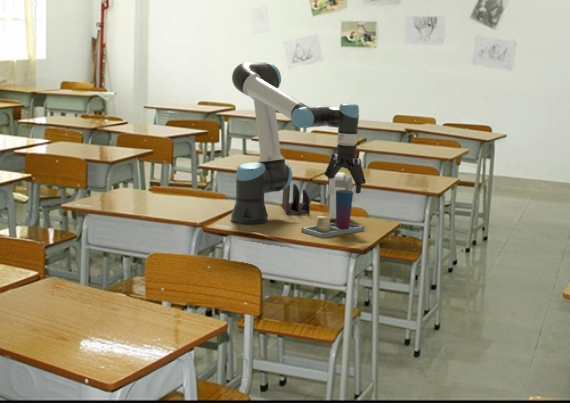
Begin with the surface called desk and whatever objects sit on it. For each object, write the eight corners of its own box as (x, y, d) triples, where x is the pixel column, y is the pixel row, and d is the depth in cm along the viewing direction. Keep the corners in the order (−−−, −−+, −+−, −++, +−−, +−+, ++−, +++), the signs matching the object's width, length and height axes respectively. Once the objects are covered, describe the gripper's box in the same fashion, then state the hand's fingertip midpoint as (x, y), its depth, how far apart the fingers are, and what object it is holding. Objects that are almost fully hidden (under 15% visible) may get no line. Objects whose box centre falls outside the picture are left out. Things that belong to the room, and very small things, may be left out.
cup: (332, 229, 312) (334, 192, 309) (335, 226, 319) (337, 189, 316) (350, 231, 311) (352, 193, 308) (352, 227, 318) (354, 190, 315)
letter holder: (286, 215, 343) (287, 182, 341) (281, 206, 363) (282, 175, 360) (309, 215, 344) (310, 183, 342) (303, 206, 364) (304, 175, 361)
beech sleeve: (313, 232, 308) (314, 217, 307) (323, 230, 311) (323, 215, 310) (322, 234, 304) (323, 219, 303) (332, 233, 308) (332, 218, 307)
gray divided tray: (301, 234, 309) (301, 227, 308) (342, 227, 323) (343, 221, 323) (322, 240, 300) (322, 233, 300) (363, 232, 315) (363, 226, 314)
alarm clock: (332, 215, 345) (334, 169, 341) (351, 216, 344) (353, 170, 340) (325, 224, 328) (327, 175, 324) (346, 225, 326) (348, 176, 322)
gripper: (317, 140, 315) (314, 192, 320) (363, 149, 297) (359, 204, 301) (331, 139, 320) (328, 191, 324) (377, 148, 302) (373, 203, 306)
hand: (343, 197), depth 313 cm, fingers open, 13 cm apart
